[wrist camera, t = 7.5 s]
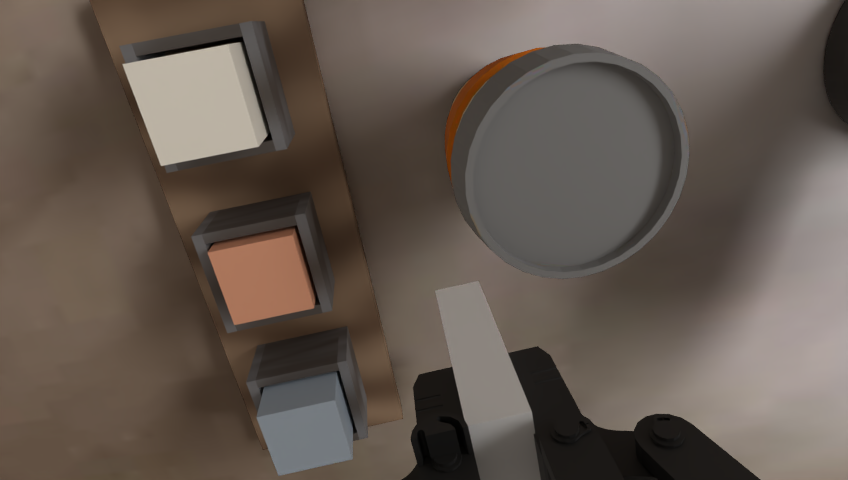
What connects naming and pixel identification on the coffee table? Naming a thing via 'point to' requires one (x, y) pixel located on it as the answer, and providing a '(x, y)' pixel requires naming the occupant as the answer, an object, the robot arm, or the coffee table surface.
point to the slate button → (307, 422)
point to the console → (269, 198)
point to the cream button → (199, 102)
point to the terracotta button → (264, 274)
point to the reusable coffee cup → (566, 158)
